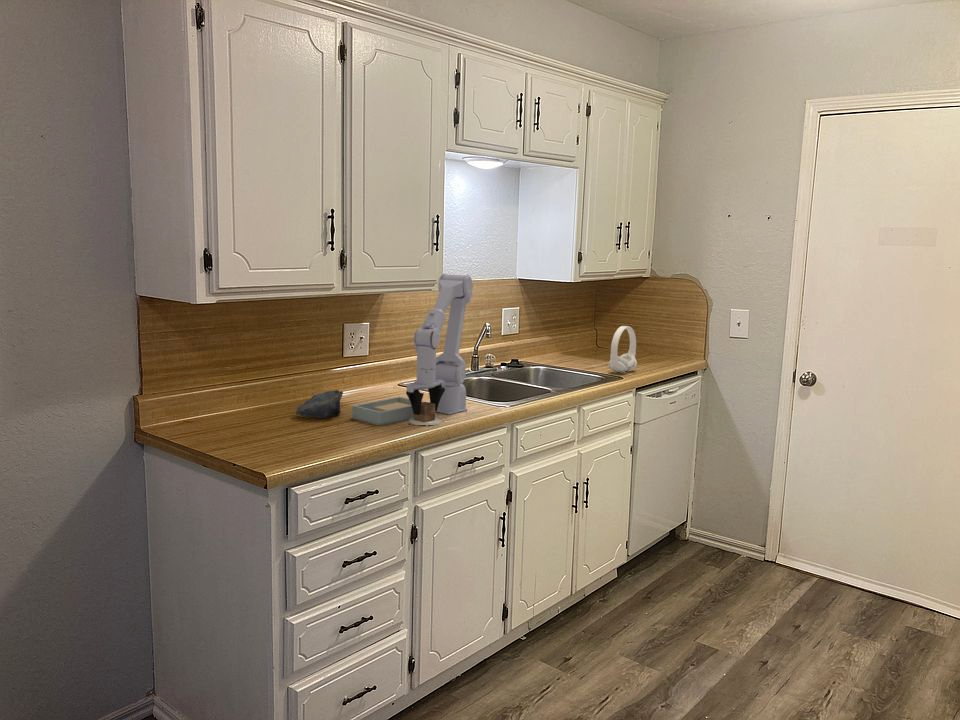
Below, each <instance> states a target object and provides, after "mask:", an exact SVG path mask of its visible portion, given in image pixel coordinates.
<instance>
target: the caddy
mask: <svg viewBox="0 0 960 720" xmlns="http://www.w3.org/2000/svg"><path fill="white" fill-rule="evenodd" d="M351 414H352V417H351V418H352V420H356V421H360V422H365V423H367V424H368V423H369V424H372V425H375V426H380V427H382V426H385V425H390V424H394V423H398V422H399V423H400V422H403V421H407V420H408V421H409V419H410V418H412V417H414V414H413V409H412V406H411V402H410V400H409V398H408V397H402V396H396V397H391V398H386V399H385V398H384V399H380V400H375V401H370V402H366V403H365V402H364V403H360V404H356V405H352V413H351Z"/></svg>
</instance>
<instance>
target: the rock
mask: <svg viewBox="0 0 960 720" xmlns="http://www.w3.org/2000/svg"><path fill="white" fill-rule="evenodd" d="M343 394H344V391H341V390H338V389H335V390H327V391H324V392H320V393H317V394H313V395H312V396H311V398H309V399H307V400H306V401H305V402H304V403H302V404H299V405H298V407H296V408H295V410H294V413H295V414H296V415H299V416H302V417H304V416H305V417H309V418H312V419H314V418H315V419H316V418H319V419H329V418H330V419H331V418H332V417H333V416H334V415H336V416H337V415H340V414H341V413H342V411H341V399H342V397H343Z"/></svg>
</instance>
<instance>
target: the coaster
mask: <svg viewBox="0 0 960 720" xmlns="http://www.w3.org/2000/svg"><path fill="white" fill-rule="evenodd" d="M441 422H443V421H442V419H441V418H439V417H436V416H435V420H433V421H429V422H421V421H417V420H414V417H412V418H410V419H408V423H409V424H410V423H411V424H410V425H413V424H414V425H413V426H417V425H426V426H425V427H429V426H428V425H435V426H437V425H436V424H439V425H441V424H442V423H441ZM440 423H441V424H440Z"/></svg>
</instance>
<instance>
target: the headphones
mask: <svg viewBox="0 0 960 720" xmlns="http://www.w3.org/2000/svg"><path fill="white" fill-rule="evenodd" d="M625 330H626V331H627V334H628V337H629V349H628V352H626V353H623V354H621V355H620V356H619V355H618V349H619V348H618V347H619V343H620V339H621V336H622V334H623V332H624V331H625ZM634 330H635V329H633V327H631V326H628V325H621V326H619V327H618V328H617V329H616V330H615V332H614V334H613V336H612V340H611V345H610V359H609V361H608V364H607V366H608V368H609V369H610V370H612V371H613V372H615V373H617V372H620V373H619V374H624V373H626V372H625V371H628V372H631V371H633V370H635V369H636V367H637V365H638V362H637V359H636V354H637V351H636V350H637V337H636V332H635V331H634Z"/></svg>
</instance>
